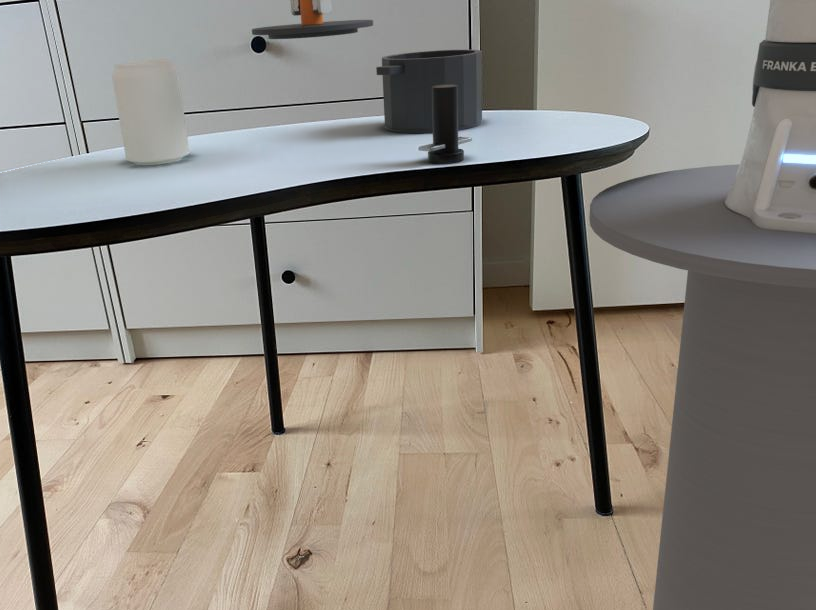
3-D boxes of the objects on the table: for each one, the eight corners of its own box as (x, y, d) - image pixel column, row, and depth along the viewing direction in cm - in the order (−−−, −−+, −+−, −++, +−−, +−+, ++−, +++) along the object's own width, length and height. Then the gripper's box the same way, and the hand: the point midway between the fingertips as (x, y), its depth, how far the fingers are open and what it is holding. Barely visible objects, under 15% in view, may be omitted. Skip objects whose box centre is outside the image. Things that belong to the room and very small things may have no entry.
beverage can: (132, 169, 103) (115, 67, 98) (122, 160, 109) (105, 64, 105) (196, 160, 105) (182, 60, 100) (182, 151, 112) (169, 57, 107)
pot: (512, 117, 119) (513, 47, 115) (422, 139, 108) (420, 61, 104) (441, 113, 128) (439, 48, 125) (351, 132, 117) (347, 61, 113)
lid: (398, 29, 99) (397, -19, 97) (305, 39, 91) (301, -13, 89) (319, 31, 110) (316, -12, 108) (228, 41, 101) (223, -6, 99)
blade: (452, 153, 97) (451, 81, 94) (479, 156, 94) (479, 82, 91) (411, 164, 93) (409, 89, 90) (438, 167, 90) (436, 90, 87)
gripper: (386, -132, 88) (392, 9, 94) (269, -106, 103) (279, 15, 108) (343, -134, 85) (351, 13, 90) (227, -107, 99) (240, 19, 104)
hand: (311, 14), depth 99 cm, fingers closed on lid, 2 cm apart
